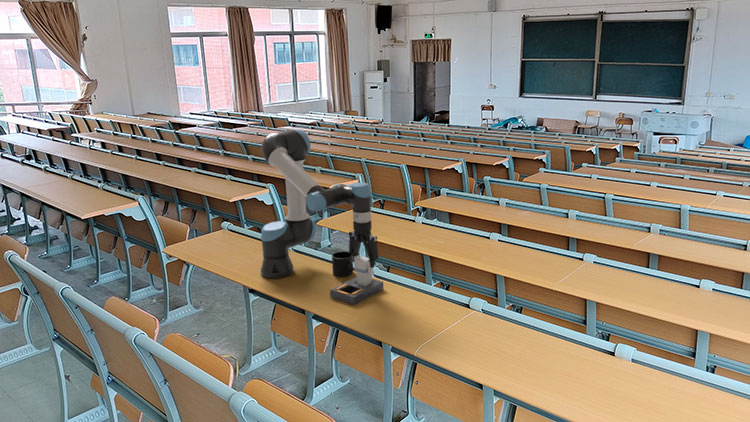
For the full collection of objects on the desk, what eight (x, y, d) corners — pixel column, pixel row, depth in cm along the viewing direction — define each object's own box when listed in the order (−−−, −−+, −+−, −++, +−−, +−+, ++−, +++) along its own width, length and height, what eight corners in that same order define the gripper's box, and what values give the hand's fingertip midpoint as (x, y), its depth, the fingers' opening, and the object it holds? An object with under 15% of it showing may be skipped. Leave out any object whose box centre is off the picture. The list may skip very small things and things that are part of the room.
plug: (357, 290, 236) (355, 259, 232) (364, 286, 240) (362, 256, 236) (365, 292, 234) (364, 261, 230) (372, 289, 237) (371, 258, 233)
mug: (344, 280, 246) (344, 261, 244) (328, 273, 255) (327, 255, 253) (361, 274, 252) (360, 256, 250) (344, 267, 261) (343, 249, 258)
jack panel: (330, 297, 230) (330, 288, 229) (360, 282, 244) (360, 274, 243) (354, 305, 222) (353, 296, 221) (383, 289, 236) (383, 281, 235)
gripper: (338, 218, 231) (340, 269, 238) (375, 226, 219) (376, 280, 226) (350, 214, 237) (352, 264, 243) (386, 222, 225) (387, 274, 231)
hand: (364, 272), depth 234 cm, fingers open, 7 cm apart
